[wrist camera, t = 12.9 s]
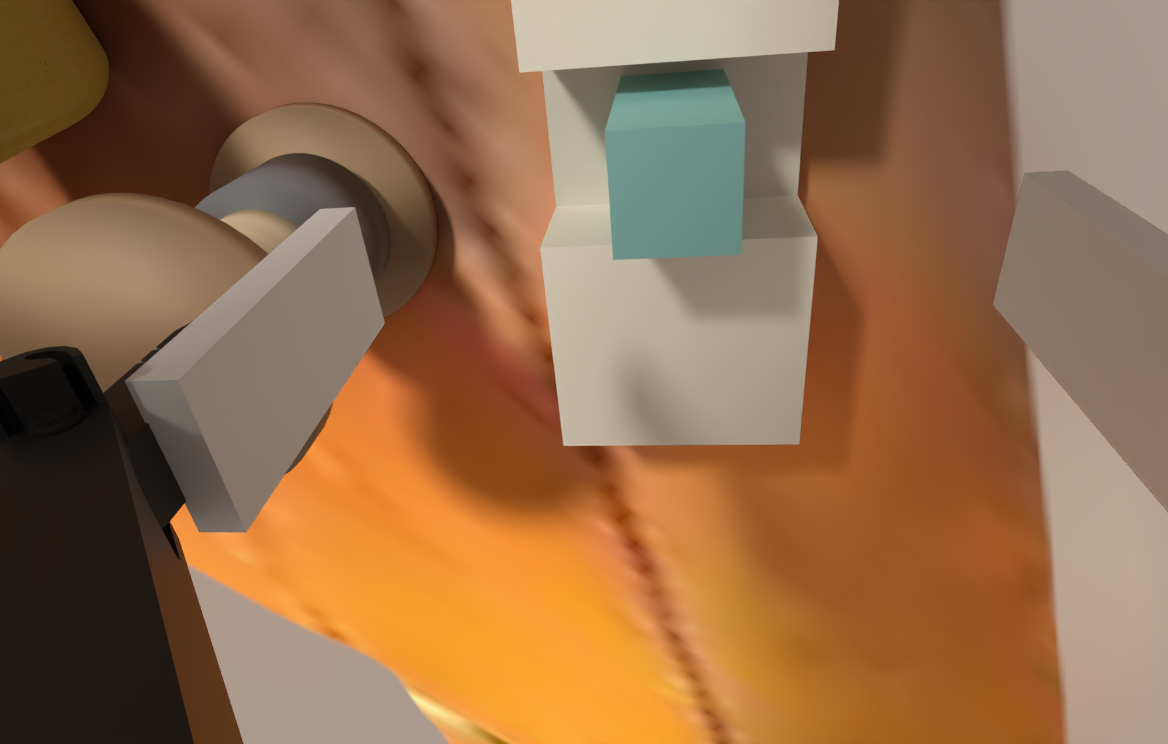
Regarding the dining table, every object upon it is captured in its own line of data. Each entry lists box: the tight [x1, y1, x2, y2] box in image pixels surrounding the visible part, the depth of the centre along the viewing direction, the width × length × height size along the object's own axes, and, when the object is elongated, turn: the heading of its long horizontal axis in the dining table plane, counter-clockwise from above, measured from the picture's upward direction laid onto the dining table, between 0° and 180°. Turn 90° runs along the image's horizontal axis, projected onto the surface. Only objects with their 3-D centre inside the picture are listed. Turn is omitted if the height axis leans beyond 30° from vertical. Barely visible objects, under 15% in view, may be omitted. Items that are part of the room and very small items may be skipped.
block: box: [605, 69, 746, 260], centre depth 23 cm, size 4×4×8 cm
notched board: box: [511, 0, 839, 446], centre depth 25 cm, size 22×9×5 cm, turn 4°
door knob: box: [0, 103, 438, 474], centre depth 25 cm, size 9×9×12 cm
